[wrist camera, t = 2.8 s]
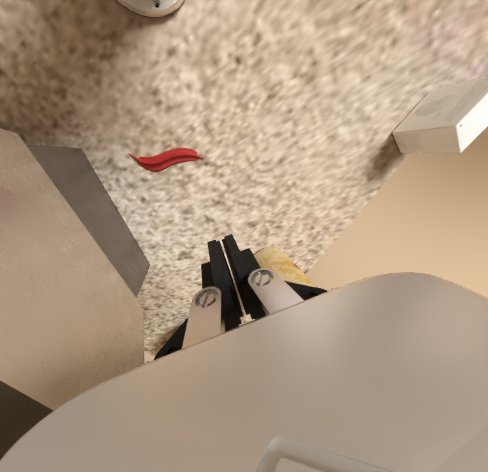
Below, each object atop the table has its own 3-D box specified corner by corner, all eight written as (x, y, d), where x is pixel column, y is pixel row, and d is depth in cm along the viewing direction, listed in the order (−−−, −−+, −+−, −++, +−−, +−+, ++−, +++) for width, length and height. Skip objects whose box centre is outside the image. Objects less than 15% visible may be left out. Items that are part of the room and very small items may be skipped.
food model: (246, 266, 42) (282, 344, 25) (254, 241, 40) (301, 308, 22) (280, 270, 46) (334, 342, 28) (290, 248, 43) (355, 311, 26)
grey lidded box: (-59, 160, 23) (-274, 164, 12) (71, 131, 25) (-21, 114, 14) (75, 299, 35) (23, 361, 24) (155, 272, 37) (138, 319, 26)
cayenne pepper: (128, 166, 29) (123, 166, 27) (126, 134, 27) (122, 133, 25) (202, 179, 32) (203, 180, 31) (205, 152, 31) (206, 152, 29)
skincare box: (400, 154, 40) (461, 154, 31) (390, 133, 37) (454, 125, 28) (438, 115, 39) (514, 102, 29) (430, 89, 36) (512, 66, 26)
